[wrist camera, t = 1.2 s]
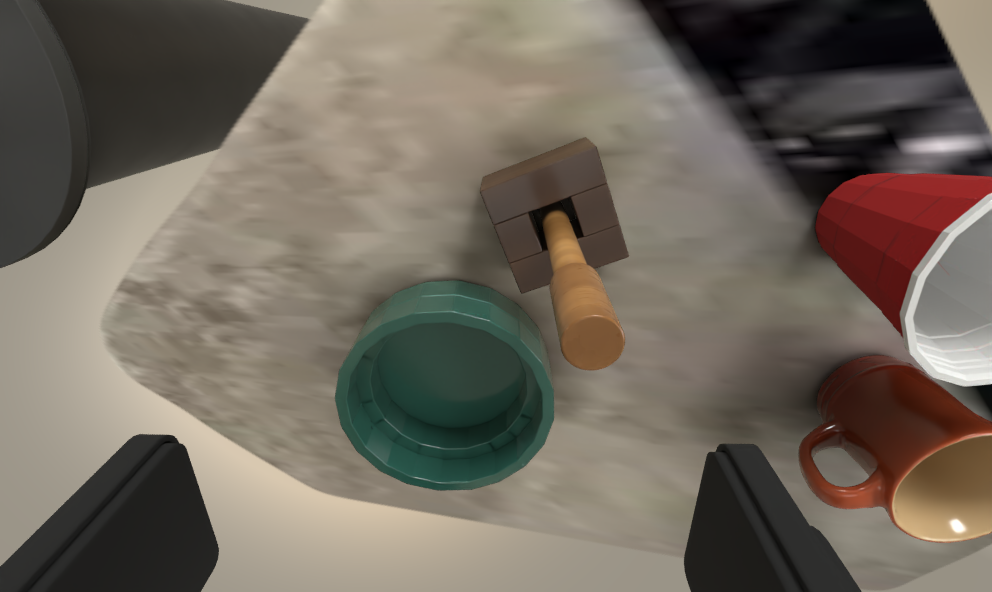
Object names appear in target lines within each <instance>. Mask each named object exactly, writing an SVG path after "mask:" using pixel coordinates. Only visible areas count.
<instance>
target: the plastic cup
mask: <svg viewBox="0 0 992 592" xmlns="http://www.w3.org/2000/svg"><path fill="white" fill-rule="evenodd" d="M815 230H816V234H817V238H818V242H819V243H820V245H821V247H822V248H823V249H824V251H825V252H826V253H827V254H828V255H829V256H830V257H831V258H832V259H833V260H834V261H835V262H836V263H837V265H838V267H839V268H840V269H841V270H842V271H843V272H844V273H845V274H846V275H847V276H848V277H849V278H850V279H851V281H852V282H853V283H854V284H855V285H856V286H857V287H858V288H859V289H860V290H861V291H862V292H863V293H864V294H865V295H866V296H867V297H868V298H869V299H870V300H871V301H872V302H873V303H874V304H875V305H876V306H877V307H878V308H879V309H880V310H881V311H882V313H883V314H884V315H885V317H886V318H887V319H888V320H889V321H890V322H891V323H892V324H893V326H894V327H895V328H896V330H897V331H898V332H899V333H900V334H901V336H902V337H903V338H904V345H905V348H906V349H907V351H908V352H909V353H910V354H911V355H912V356H913V357H914V359H915V360H916V361H917V362H918V363H919V364H920V365H921V366H922V367H923V368H924V370H925V371H926V372H927V373H928V374H929V375H930V376H931V377H934V378H937V379H941V380H944V381H947V382H951V383H954V384H958V385H961V386H975V385H985V384H992V177H987V176H966V175H945V174H924V173H922V174H895V173H879V174H867V175H860V176H858V177H856V178H853V179H851V180H849V181H846V182H844V183H842V184H841V185H840V186H839V187H838V188H837V189H835V190H834V191H833V192H832V193H831V194H830V195H828V197H827V198H826V200H825V201H824V203H823V205H822V206H821V208H820V209H819V211H818V215H817V220H816V225H815Z"/></svg>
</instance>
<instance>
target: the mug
mask: <svg viewBox="0 0 992 592" xmlns="http://www.w3.org/2000/svg"><path fill="white" fill-rule="evenodd" d="M817 408H818V412H819V415H820V417H821V419H822V421H823V424H822V425H820V426H818V427H817V428H815V429H814V430H813V431H812V432H810V433H809V434H808V435H807V436H806V437H805V438H804V439H803V440H802V442H801V444H800V446H799V453H798V457H799V466H800V470H801V473H802V475H803V477H804V479H805V481H806V483H807V485H808V486H809V488H810V489H811V490H812V492H813V493H814V494H815V495H816V496H817V497H818V498H819V499H820V500H822V501H823V502H825V503H826V504H828V505H830V506H833V507H836V508H841V509H859V508H873V507H883V508H885V509H886V511H887V513H888V515H889V517H890V519H891V521H892V522H893V524H894V525H895V526H896V527H898V528H899V529H900V530H901V531H903V532H904V533H906V534H908V535H910V536H912V537H914V538H917V539H920V540H924V541H929V542H939V543H949V542H959V541H965V540H970V539H974V538H978V537H981V536H984V535H987V534H990V533H992V422H991V421H988V420H986V419H984V418H982V417H980V416H979V415H977V414H975V413H974V412H972V411H971V410H969V409H968V408H967V407H966V406H964V405H963V404H962V403H961V402H959V401H958V400H957V399H956V398H955V397H953V396H952V395H951V394H950V393H949V392H947V391H946V390H945V389H944V388H942V387H941V386H940V385H938V384H937V383H936V382H934V381H933V380H932V379H930V378H929V377H928V376H927V375H926V374H925V373H924V372H922V371H921V370H919V369H917V368H915V367H914V366H913V365H911V364H910V363H906V362H902V361H900V360H898V359H896V358H893V357H889V356H884V355H872V356H865V357H861V358H857V359H854V360H852V361H850V362H847V363H846V364H844V365H842V366H840V367H839V368H838V369H836V370H835V371H834V372H833V373H832V374H831V375H829V377H828V378H827V379H826V380H825V381H824V383H823V384H822V386H821V387H820V389H819V392H818V396H817ZM827 448H842V449H844V450H845V451H846V452H847V453H848V454H849V455H850V456H851V457H852V458H853V459H854V460H855V461H856V462H857V463H858V464H859V465H860V466H861V467H862V468H863V469H864V471H865V472H866V473H867V474H868V475H869V478H868V479H867V480H866V481H864V482H863V483H861V484H859V485H856V486H851V487H839V486H835V485H832V484H830V483H829V482H828V481H826V480H825V478H824V477H823V476H822V475H821V473H820V472H819V470H818V469H817V467H816V465H815V463H814V461H813V457H814V456H815V454H816V453H817V452H819V451H821V450H823V449H827Z"/></svg>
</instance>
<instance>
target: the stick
mask: <svg viewBox="0 0 992 592" xmlns="http://www.w3.org/2000/svg"><path fill="white" fill-rule="evenodd" d="M540 216H541V221H542V225H543V230H544V234H545V239H546V243H547V248H548V252H549V257H550V261H551V266H552V270H553V277H552V279H551V282H550V294H551V299H552V304H553V309H554V315H555V320H556V325H557V330H558V336H559V341H560V346H561V351H562V353H563V355H564V357H565V359H566V360H567V361H568V362H569V363H570V364H572V365H573V366H575V367H577V368H580V369H583V370H599V369H602V368H605V367H607V366H609V365H611V364H612V363H614V362H615V361H616V360H617V359H618V358H619V356H620V355H621V353H622V351H623V349H624V345H625V336H624V332H623V330H622V327H621V325H620V323H619V320H618V318H617V316H616V313H615V311H614V309H613V307H612V304H611V302H610V300H609V297H608V295H607V293H606V290H605V288H604V286H603V284H602V281H601V279H600V277H599V275H598V273H597V272H596V270H595V269H594V268H592V267H591V266H589V265H587V263H586V261H585V258H584V256H583V253H582V251H581V248H580V246H579V243H578V241H577V238H576V236H575V233H574V231H573V228H572V226H571V223H570V221H569V218H568V216H567V213H566V211H565V208H564V206H563V204H562V202H561V201H557V202H555V203H552V204H549V205H547V206H544V207H541V208H540Z"/></svg>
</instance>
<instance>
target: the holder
mask: <svg viewBox="0 0 992 592" xmlns="http://www.w3.org/2000/svg"><path fill="white" fill-rule="evenodd" d="M480 193H481V196H482V198H483V201H484V203H485V206H486V208H487V210H488V213H489V215H490V218H491V220H492V223H493V225H494V228H495V230H496V233H497V235H498V238H499V240H500V243H501V245H502V248H503V250H504V253H505V255H506V257H507V260H508V262H509V265H510V267H511V270H512V272H513V275H514V277H515V280H516V282H517V285H518V287H519V290H520V292H521V294H522V293H525V292H528V291H531V290H534V289H537V288H540V287H542V286H545V285H548V284H550V282H551V279H552V277H553V270H552V266H551V261H550V257H549V252H548V248H547V243H546V239H545V234H544V230H543V231H541V232H539V231H538V228H537V225H536V222H535V220H534V217H533V214H532V212H531V211H533V210H536V209H539V208H541V207H544V206H547V205H549V204H552V203H555V202H557V201H560V200H563V199H565V198H568V197H569V200H570V203H571V206H572V209H573V212H574V215H575V218H576V219H574V220H571V221H570V223H571V226H572V228H573V231H574V233H575V236H576V238H577V241H578V243H579V246H580V248H581V251H582V253H583V256H584V258H585V261H586V263H587V265H589V266H591V267H592V268H594V269H595V268H598V267H601V266H604V265H606V264H609V263H612V262H615V261H618V260H621V259H624V258H627V257H629V254H628V251H627V247H626V244H625V241H624V237H623V234H622V231H621V227H620V225H619V221H618V217H617V214H616V210H615V207H614V204H613V200H612V197H611V194H610V190H609V187H608V184H607V180H606V177H605V174H604V170H603V167H602V164H601V160H600V157H599V154H598V150H597V147H596V146H595V145H594V144H593V143H592V142H591V141H590V140H589V139H587V138H586V137H584V138H582V139H579V140H577V141H574V142H572V143H569V144H566V145H564V146H561V147H559V148H556V149H554V150H551V151H549V152H546V153H543V154H541V155H538V156H536V157H533V158H531V159H528V160H525V161H523V162H520V163H518V164H515V165H513V166H510V167H508V168H505V169H502V170H500V171H497V172H495V173H492V174H490V175H487V176H484V177H483V179H482V184H481V189H480Z"/></svg>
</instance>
